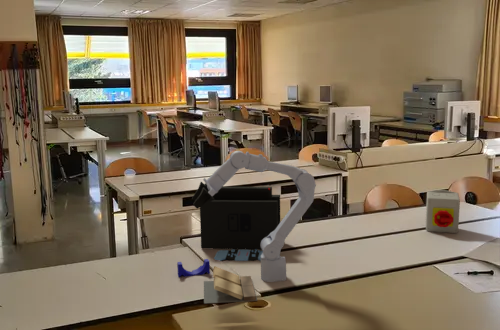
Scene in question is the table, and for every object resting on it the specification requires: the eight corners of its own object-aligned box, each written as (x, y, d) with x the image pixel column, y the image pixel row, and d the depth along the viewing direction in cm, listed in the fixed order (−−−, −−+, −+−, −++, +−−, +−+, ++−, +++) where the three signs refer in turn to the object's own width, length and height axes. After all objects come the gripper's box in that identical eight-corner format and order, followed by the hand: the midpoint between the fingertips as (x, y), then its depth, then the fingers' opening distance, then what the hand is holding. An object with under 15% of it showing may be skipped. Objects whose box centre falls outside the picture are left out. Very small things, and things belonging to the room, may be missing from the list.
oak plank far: (237, 279, 199) (239, 275, 199) (239, 287, 190) (240, 284, 190) (212, 269, 197) (214, 266, 197) (213, 277, 189) (215, 274, 189)
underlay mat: (251, 281, 200) (251, 279, 200) (257, 302, 180) (257, 300, 180) (203, 283, 198) (203, 281, 198) (204, 305, 179) (203, 303, 178)
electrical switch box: (425, 238, 257) (427, 199, 251) (425, 226, 270) (427, 189, 264) (458, 240, 252) (461, 201, 246) (456, 228, 266) (458, 190, 260)
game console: (280, 240, 250) (280, 184, 246) (277, 262, 221) (276, 198, 216) (206, 239, 254) (205, 184, 250) (194, 260, 224) (192, 198, 220)
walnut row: (250, 279, 199) (250, 275, 199) (255, 300, 180) (255, 296, 180) (240, 280, 199) (239, 276, 199) (244, 300, 180) (243, 296, 180)
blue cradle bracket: (207, 272, 210) (207, 257, 209) (209, 276, 206) (209, 261, 205) (177, 275, 207) (176, 260, 206) (178, 279, 203) (178, 264, 202)
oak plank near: (239, 289, 188) (241, 286, 188) (241, 299, 180) (243, 296, 180) (213, 279, 187) (215, 276, 187) (214, 289, 179) (215, 285, 178)
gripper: (211, 165, 198) (185, 191, 199) (214, 174, 184) (187, 201, 185) (224, 178, 200) (198, 203, 201) (229, 187, 186) (201, 215, 187)
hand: (194, 203), depth 193 cm, fingers open, 7 cm apart
